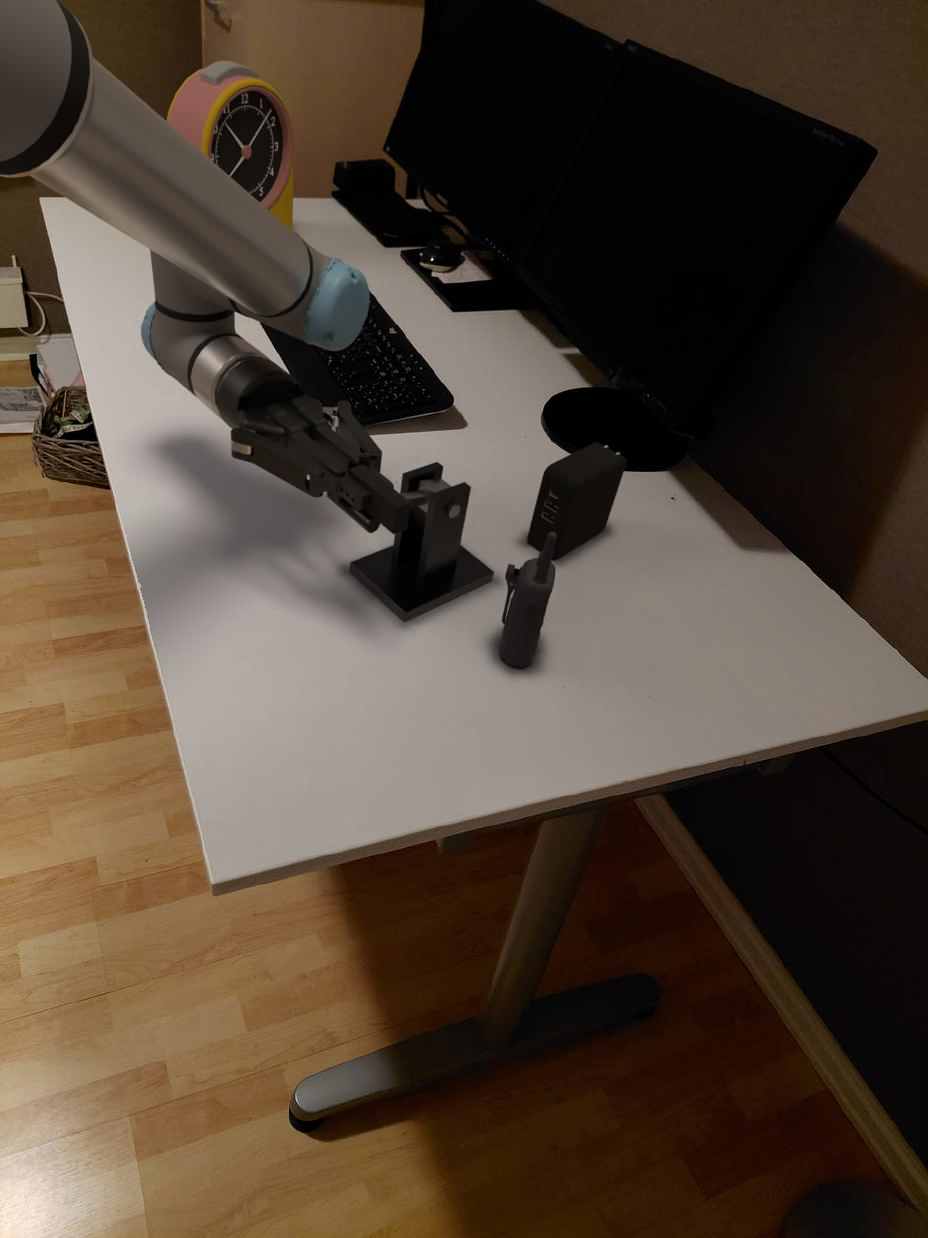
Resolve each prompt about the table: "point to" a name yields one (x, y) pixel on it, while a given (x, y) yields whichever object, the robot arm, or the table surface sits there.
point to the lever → (414, 497)
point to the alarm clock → (240, 131)
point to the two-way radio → (527, 605)
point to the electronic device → (576, 497)
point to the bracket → (425, 553)
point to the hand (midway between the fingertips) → (401, 518)
